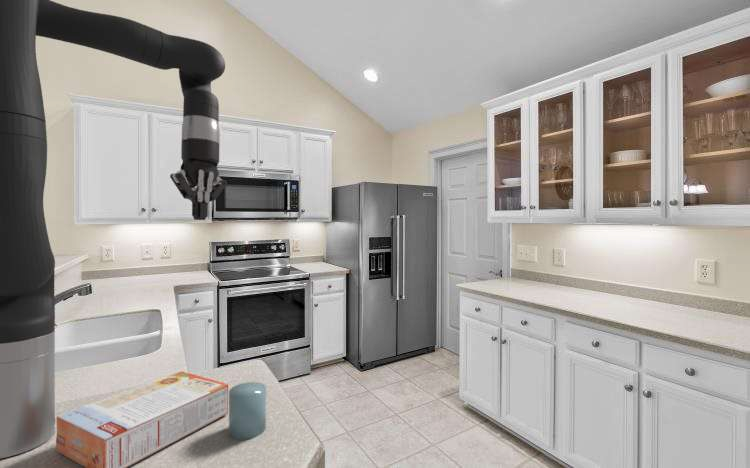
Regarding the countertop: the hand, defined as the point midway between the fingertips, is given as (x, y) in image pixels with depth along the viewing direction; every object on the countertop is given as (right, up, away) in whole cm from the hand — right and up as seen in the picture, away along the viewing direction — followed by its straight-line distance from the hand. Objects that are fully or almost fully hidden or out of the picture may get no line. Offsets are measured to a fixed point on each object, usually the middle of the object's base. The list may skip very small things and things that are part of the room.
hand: (199, 219), depth 80 cm
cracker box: (+6, -34, -9) cm, 35 cm away
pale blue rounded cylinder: (+17, -37, -17) cm, 44 cm away
